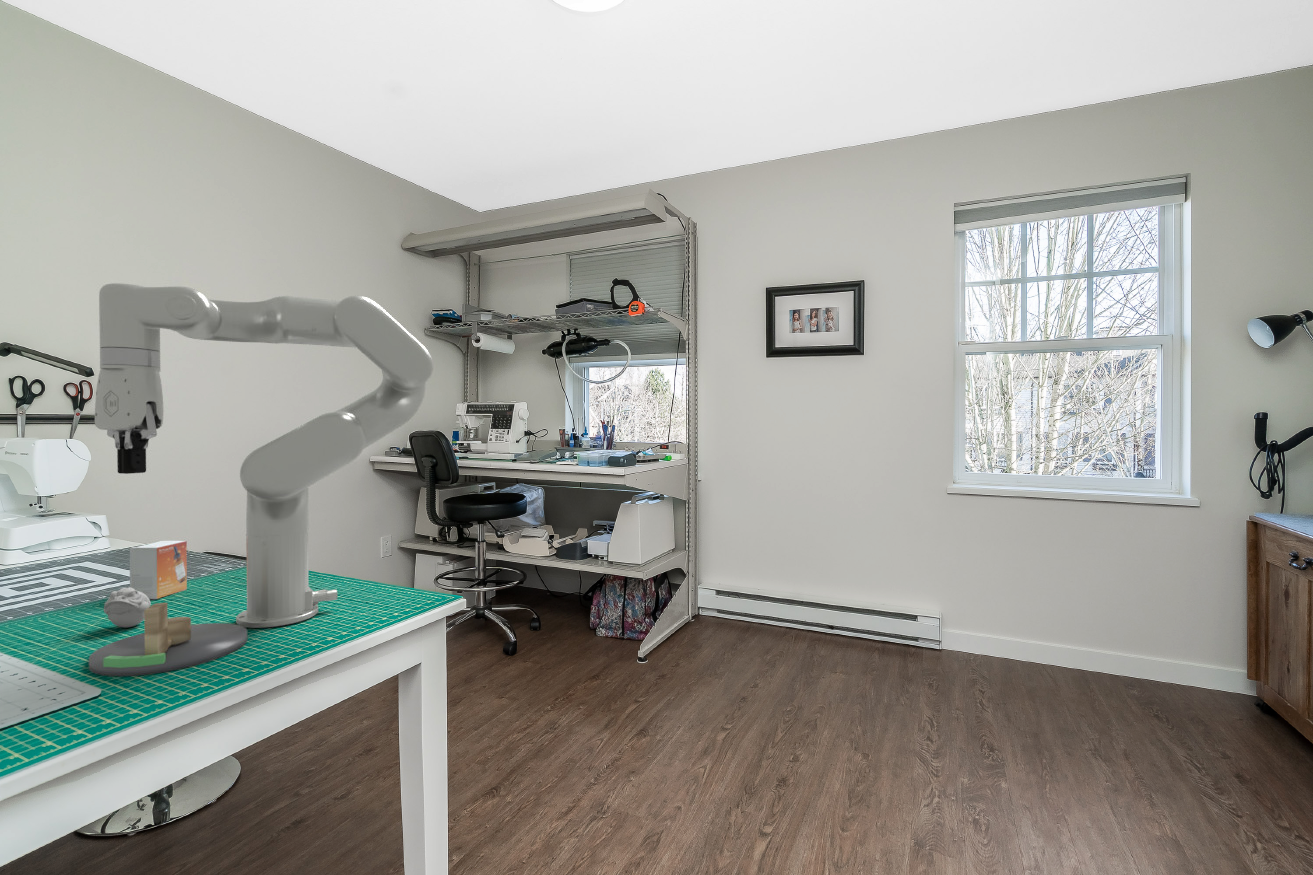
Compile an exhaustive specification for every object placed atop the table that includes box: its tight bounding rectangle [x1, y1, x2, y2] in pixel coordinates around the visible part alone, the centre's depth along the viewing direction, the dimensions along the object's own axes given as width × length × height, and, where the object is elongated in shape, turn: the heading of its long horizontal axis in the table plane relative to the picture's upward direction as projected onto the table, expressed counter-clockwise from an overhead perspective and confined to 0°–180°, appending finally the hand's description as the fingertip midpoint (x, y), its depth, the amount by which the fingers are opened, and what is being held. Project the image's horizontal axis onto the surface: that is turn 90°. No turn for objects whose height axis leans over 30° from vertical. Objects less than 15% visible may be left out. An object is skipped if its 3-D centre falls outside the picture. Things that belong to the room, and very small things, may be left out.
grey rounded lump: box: [103, 586, 152, 629], centre depth 104 cm, size 6×7×7 cm
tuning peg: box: [143, 602, 192, 655], centre depth 91 cm, size 10×4×7 cm, turn 21°
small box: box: [129, 540, 188, 600], centre depth 125 cm, size 8×6×10 cm
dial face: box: [88, 622, 248, 677], centre depth 93 cm, size 19×19×2 cm
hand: (132, 472), depth 99 cm, fingers closed
